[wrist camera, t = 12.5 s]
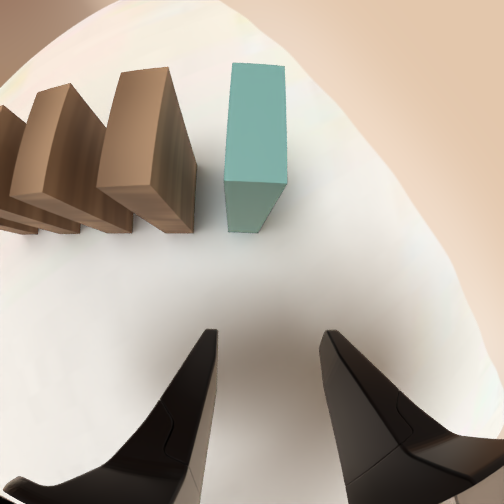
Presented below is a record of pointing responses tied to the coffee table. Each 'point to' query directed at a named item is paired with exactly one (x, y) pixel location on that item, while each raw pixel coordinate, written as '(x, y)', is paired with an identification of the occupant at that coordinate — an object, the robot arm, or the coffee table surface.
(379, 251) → the coffee table surface
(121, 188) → the tile
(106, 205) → the brown wooden block
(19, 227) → the tile
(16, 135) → the brown wooden plank
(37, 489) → the robot arm
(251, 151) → the tile
